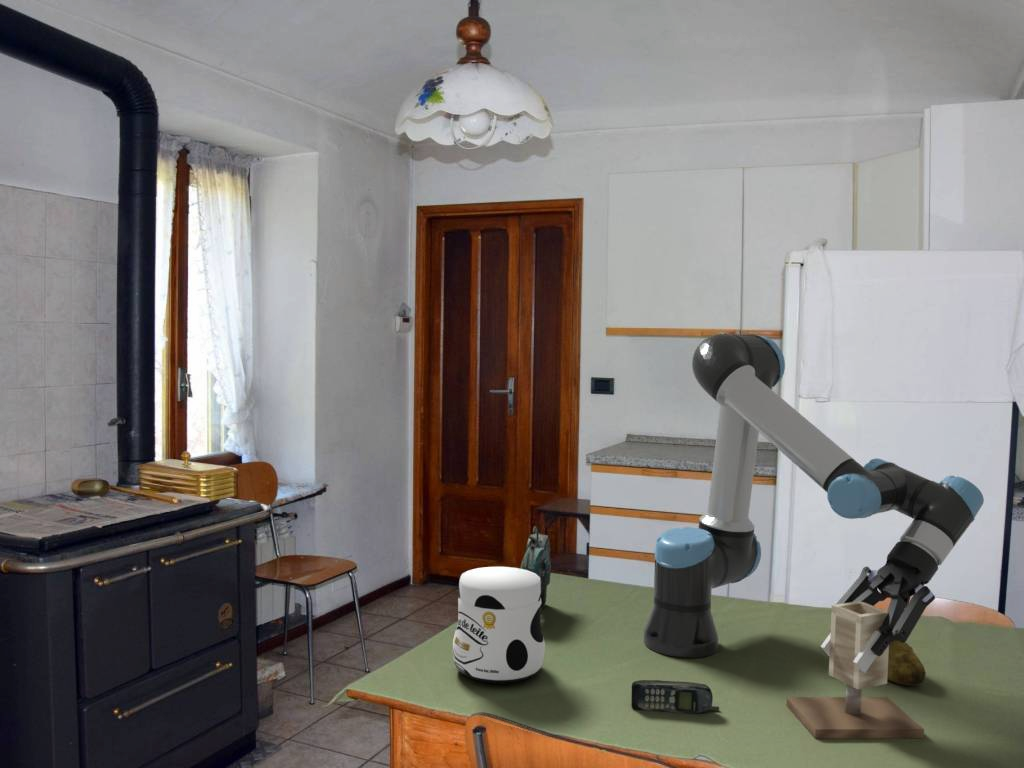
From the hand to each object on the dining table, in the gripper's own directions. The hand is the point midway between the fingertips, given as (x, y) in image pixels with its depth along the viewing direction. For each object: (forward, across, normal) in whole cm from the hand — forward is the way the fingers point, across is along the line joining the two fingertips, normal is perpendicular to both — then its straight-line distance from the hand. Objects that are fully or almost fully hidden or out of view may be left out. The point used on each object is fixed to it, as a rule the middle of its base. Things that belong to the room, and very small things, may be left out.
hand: (842, 659), depth 140 cm
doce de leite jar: (+40, +40, +24) cm, 61 cm away
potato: (-10, +12, -26) cm, 30 cm away
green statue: (+25, +67, +10) cm, 72 cm away
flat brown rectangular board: (+6, 0, -10) cm, 12 cm away
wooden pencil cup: (0, 0, -5) cm, 5 cm away
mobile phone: (+24, +15, +8) cm, 29 cm away
